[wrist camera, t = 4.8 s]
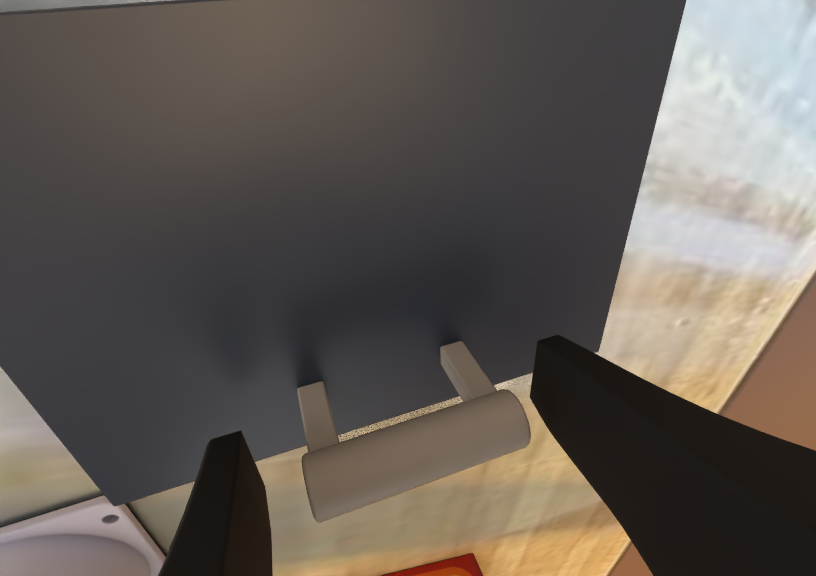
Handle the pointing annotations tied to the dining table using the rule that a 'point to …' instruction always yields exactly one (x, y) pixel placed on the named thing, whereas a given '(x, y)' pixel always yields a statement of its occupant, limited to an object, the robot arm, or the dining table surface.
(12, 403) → the dining table surface
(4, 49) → the cover
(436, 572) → the baking soda box
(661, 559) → the robot arm
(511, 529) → the dining table surface
